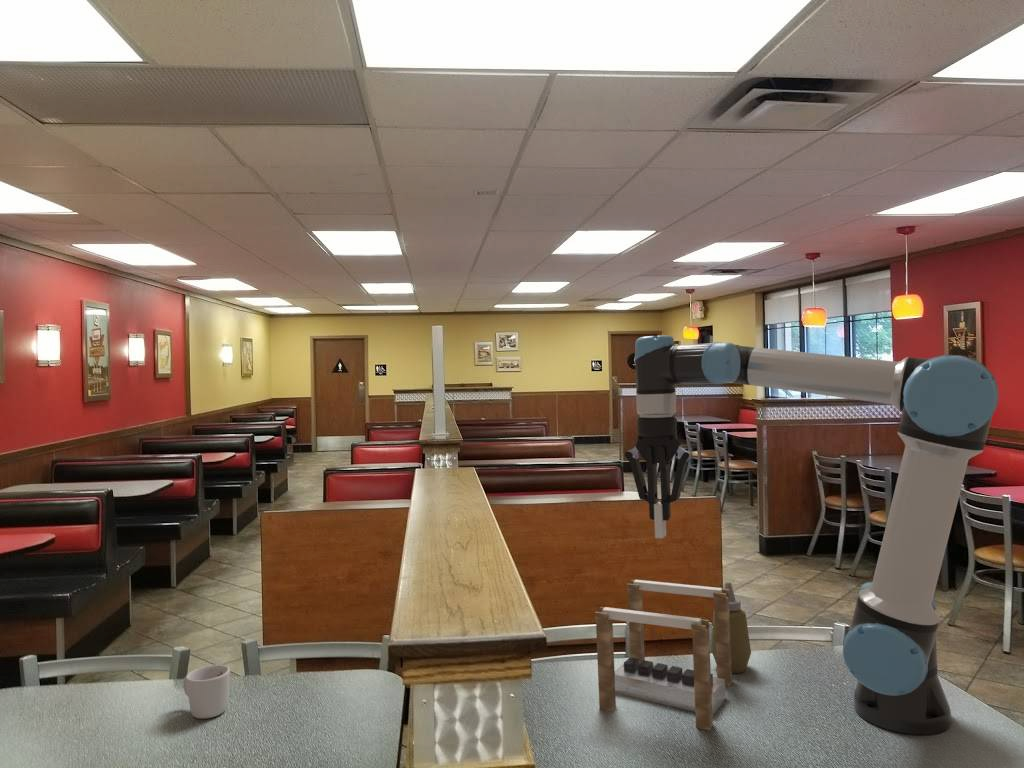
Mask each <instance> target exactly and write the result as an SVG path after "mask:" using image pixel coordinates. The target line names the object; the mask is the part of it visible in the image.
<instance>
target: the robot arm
mask: <svg viewBox="0 0 1024 768" xmlns="http://www.w3.org/2000/svg"><path fill="white" fill-rule="evenodd" d="M674 340H675V339H674V337H673V336H671V335H649V336H648V335H647V336H641V337H639V338H637V339H636V340H635V344H634V347H635V348H634V349H635V350H634V359H633V361H634V366H635V367H634V368H635V384H636V386H635V387H636V390H635V391H636V394H635V395H636V413H637V414H638V415H639V416H638V417H637V419H636V422H637V423H636V426H637V427H636V428H637V440H636V442H635V446H634V447H633V448H631V449H630V450H627V451H625V453H624V456H625V458H626V459H627V460H628V462H629V465H630V468H631V471H632V476H633V479H634V483H635V487H636V491H637V495H638V497H639V499H640V500H641V501H645V502H647V503H648V509H649V510H648V512H649V514H648V515H649V519H650V520H653V521H654V538H655V539H664V538H665V537H667V521H668V522H669V520H670V519H671V517H672V516H671V515H672V514H671V503H673V502H677V501H678V500H679V499H680V498H681V493H682V488H683V484H684V478H685V474H686V469H687V466H688V462H689V461H690V458H691V457H692V455H693V453H692V451H690V450H686V449H684V448H683V447H682V446H681V443H680V441H679V440H678V428H677V427H678V426H677V425H678V424H677V423H678V422H677V419H678V418H677V417H676V416H674V415H675V414H676V413H677V398H676V395H677V393H676V385H709V384H710V385H711V384H712V385H723V384H737V385H743V386H745V385H746V386H755V387H762V388H769V389H778V390H783V391H784V390H786V391H790V392H791V391H793V392H798V393H799V392H800V393H807V394H814V395H820V396H827V397H837V398H844V399H850V400H855V401H856V400H857V401H858V400H859V401H865V402H871V403H872V402H873V403H877V404H879V403H880V404H886V405H892V406H894V407H895V409H896V410H897V411H898V412H902V413H901V417H900V421H899V426H898V429H897V435H898V436H899V438H900V439H901V440H902V442H903V443H904V451H903V455H902V459H901V464H900V467H899V472H898V476H897V480H896V483H895V488H894V492H893V497H892V500H891V505H890V509H889V512H888V516H887V521H886V524H885V529H884V533H883V538H882V542H881V545H880V550H879V553H878V558H877V563H876V567H875V570H874V574H873V578H872V581H871V582H866V583H864V584H862V585H861V587H860V590H859V592H858V596H857V600H856V604H855V608H854V611H853V616H852V619H851V623H850V626H849V630H848V631H847V632H846V634H845V636H844V639H843V642H842V643H843V644H842V655H843V659H844V663H845V664H846V667H847V669H848V670H849V672H850V673H851V675H852V676H853V677H854V679H856V681H857V684H856V687H855V690H854V694H853V703H854V704H853V706H854V707H853V709H854V710H855V711H856V712H855V713H857V714H858V716H860V717H861V718H862V719H863V720H866V721H867V722H869V723H871V724H872V725H874V726H876V727H880V728H882V729H884V730H889V731H892V732H897V733H900V734H901V733H902V734H906V735H907V734H908V735H918V736H922V735H924V736H926V735H929V736H930V735H935V734H936V735H937V734H939V733H943V732H945V731H947V730H948V729H950V727H951V726H952V712H951V711H952V710H951V708H950V704H949V701H948V699H947V697H946V694H945V692H944V689H943V686H942V684H941V681H940V679H939V674H938V652H937V651H938V650H937V649H938V648H937V630H938V626H939V623H940V615H939V614H938V613H937V612H936V610H937V606H936V601H935V596H934V595H935V592H936V588H937V584H938V580H939V575H940V573H941V568H942V564H943V560H944V556H945V554H946V553H945V552H946V548H947V545H948V541H949V538H950V534H951V529H952V525H953V522H954V518H955V514H956V511H957V506H958V502H959V499H960V495H961V490H962V487H963V483H964V478H965V476H966V471H967V467H968V463H969V460H970V459H971V458H974V457H976V456H978V455H979V454H982V453H983V452H984V450H985V446H986V443H987V438H988V435H989V431H990V427H991V423H992V418H993V415H994V414H995V412H996V409H997V406H998V402H999V394H1000V393H999V387H998V383H997V380H996V378H995V376H994V375H993V372H991V370H990V369H989V368H988V367H987V366H986V365H985V364H982V363H981V362H979V361H978V360H976V359H974V358H971V357H969V356H968V357H967V356H963V355H961V354H960V355H956V354H944V355H938V356H934V357H932V358H931V357H930V358H923V357H911V356H910V357H909V356H906V357H904V358H903V359H902V360H900V361H895V360H894V361H893V360H883V359H873V358H865V357H864V358H862V357H854V356H843V355H833V354H824V353H817V352H816V353H815V352H806V351H804V352H803V351H795V350H784V349H775V348H765V347H764V348H763V347H753V346H744V345H739V344H734V343H733V342H721V341H716V342H715V341H714V342H709V343H708V342H707V343H705V342H704V343H695V344H694V343H693V344H682V345H681V344H676V343H675V341H674ZM640 455H641V457H642V459H644V461H645V464H646V465H645V466H646V467H645V468H646V470H647V472H646V473H647V474H646V476H647V478H646V479H647V482H646V480H645V476H644V472H643V468H642V466H641V461H640V459H639V458H640ZM676 455H677V456H676ZM675 456H676V457H677V459H678V462H677V465H676V469H675V474H674V479H673V483H672V489H671V472H670V471H671V470H670V469H671V461H672V460H673V458H674V457H675ZM658 464H659V470H660V473H659V474H660V475H659V476H660V495H661V497H660V498H659V497H658V495H659V494H658V474H657V473H658ZM659 499H660V500H661V501H658V500H659Z"/></svg>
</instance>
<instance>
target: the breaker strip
mask: <svg viewBox="0 0 1024 768" xmlns="http://www.w3.org/2000/svg"><path fill="white" fill-rule="evenodd" d="M614 671H615V694H619V695H624V696H628V697H631V698H637V699H641V700H643V701H644V700H645V701H649V702H654V703H656V704H657V703H658V704H662V705H666V706H671V707H675V708H679V709H683V710H687V711H691V712H695V689H694V669H690V668H687V669H686V670H683V667H680V666H675V665H674V666H673V665H672V666H671V667H668V664H666V663H665V664H664V663H659V662H657V663H656V664H654V661H649V660H643V661H642V662H639V659H636V658H631V657H629V658H628V659H626V660H625V661H624V662H623V663H622V665H620V666H619V667H618V668H617V669H615V670H614ZM711 694H712V716H714V714H715V713H716V711H717V710H719V709H718V708H720V706H721V705H722V704H723V702H724V701H725V700H726V685H725V679H721V678H717V676H713V673H711Z"/></svg>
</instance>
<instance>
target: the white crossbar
mask: <svg viewBox="0 0 1024 768" xmlns="http://www.w3.org/2000/svg"><path fill="white" fill-rule="evenodd" d="M634 580H635V581H633V584H638V586H639V590H642V591H645V592H655V593H656V592H657V593H665V594H666V593H667V594H675V595H684V596H695V597H704V598H712V599H714V595H713V593H714V592H717V593H722V589H723V588H722V587H714V586H713V587H712V586H704V585H694V584H692V585H691V584H684V583H683V584H682V583H673V582H666V581H665V582H662V581H654V580H644V579H634Z"/></svg>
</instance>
